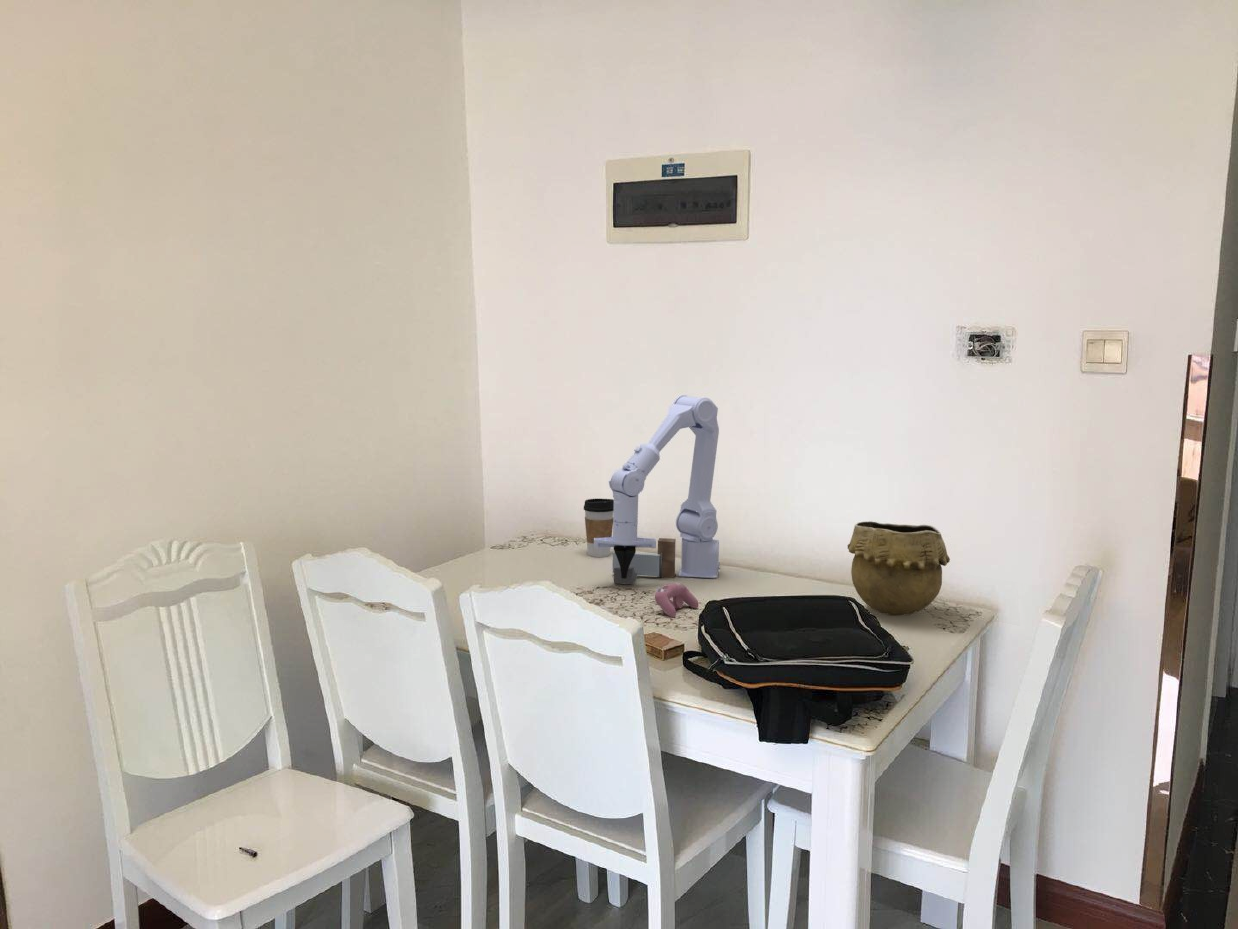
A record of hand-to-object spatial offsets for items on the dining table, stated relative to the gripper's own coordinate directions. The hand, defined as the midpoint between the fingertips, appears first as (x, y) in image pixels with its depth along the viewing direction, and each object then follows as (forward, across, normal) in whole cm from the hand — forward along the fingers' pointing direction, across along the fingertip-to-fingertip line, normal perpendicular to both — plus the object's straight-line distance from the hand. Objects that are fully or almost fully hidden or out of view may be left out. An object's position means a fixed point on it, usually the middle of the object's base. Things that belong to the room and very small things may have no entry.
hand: (623, 577), depth 227 cm
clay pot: (+2, -57, +22) cm, 62 cm away
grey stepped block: (+2, -1, -5) cm, 5 cm away
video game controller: (+2, -10, +20) cm, 22 cm away
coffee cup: (+2, +5, -31) cm, 32 cm away
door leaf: (+1, -4, -9) cm, 10 cm away
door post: (+2, -11, -9) cm, 14 cm away
